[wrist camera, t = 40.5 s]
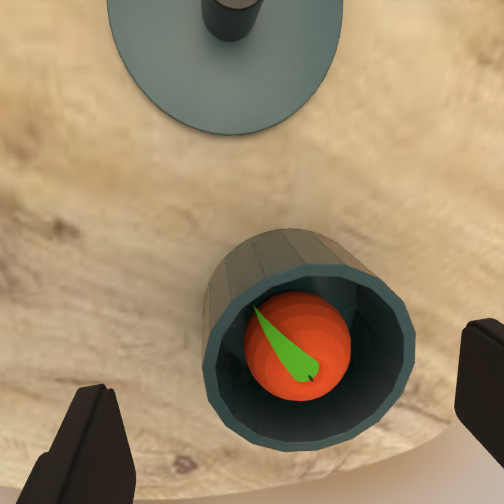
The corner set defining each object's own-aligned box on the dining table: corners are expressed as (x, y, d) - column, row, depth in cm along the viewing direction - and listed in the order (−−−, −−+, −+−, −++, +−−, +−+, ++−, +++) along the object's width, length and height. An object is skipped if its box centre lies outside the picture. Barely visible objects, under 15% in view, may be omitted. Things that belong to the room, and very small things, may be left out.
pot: (217, 386, 29) (220, 468, 22) (192, 240, 25) (185, 281, 18) (363, 362, 30) (412, 433, 23) (361, 216, 26) (418, 247, 19)
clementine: (209, 309, 26) (209, 369, 19) (282, 245, 25) (309, 285, 19) (279, 375, 29) (302, 449, 22) (349, 319, 28) (394, 377, 21)
